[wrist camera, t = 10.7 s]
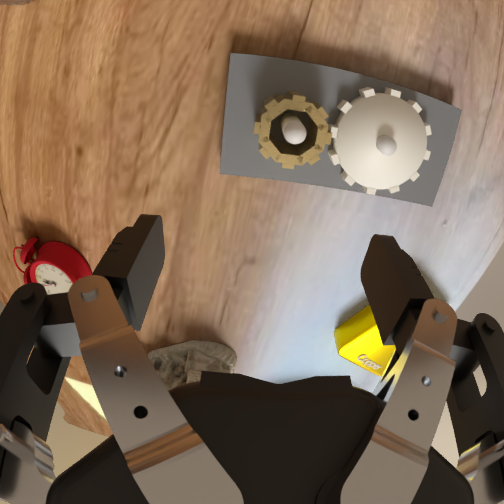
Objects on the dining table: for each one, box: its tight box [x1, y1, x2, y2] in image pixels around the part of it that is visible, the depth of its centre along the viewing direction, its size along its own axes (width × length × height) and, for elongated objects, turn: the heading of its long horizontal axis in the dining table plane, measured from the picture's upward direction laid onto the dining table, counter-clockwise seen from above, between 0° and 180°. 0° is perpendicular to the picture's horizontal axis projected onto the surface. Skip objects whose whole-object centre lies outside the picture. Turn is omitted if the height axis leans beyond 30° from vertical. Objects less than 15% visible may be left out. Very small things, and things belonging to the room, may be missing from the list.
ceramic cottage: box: [148, 340, 237, 390], centre depth 46 cm, size 16×16×15 cm
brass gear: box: [254, 91, 332, 169], centre depth 25 cm, size 6×6×4 cm
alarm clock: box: [13, 238, 92, 295], centre depth 38 cm, size 10×6×15 cm
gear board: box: [220, 53, 462, 206], centre depth 25 cm, size 12×24×7 cm, turn 84°
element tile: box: [334, 304, 396, 376], centre depth 44 cm, size 15×15×5 cm
